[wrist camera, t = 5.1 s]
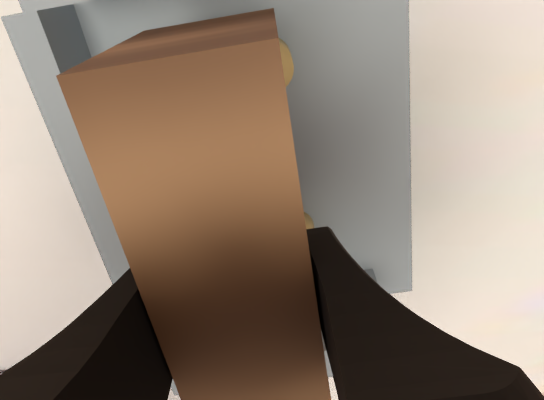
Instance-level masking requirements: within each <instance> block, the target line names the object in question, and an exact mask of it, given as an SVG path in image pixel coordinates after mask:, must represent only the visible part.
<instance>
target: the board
mask: <svg viewBox="0 0 544 400" xmlns="http://www.w3.org/2000/svg"><path fill="white" fill-rule="evenodd" d="M56 77H57V80H58V82H59V85H60V87H61V90H62V93H63V95H64V98H65V100H66V103H67V106H68V108H69V111H70V113H71V116H72V119H73V121H74V124H75V126H76V129H77V131H78V134H79V137H80V139H81V142H82V144H83V147H84V150H85V152H86V155H87V157H88V160H89V163H90V165H91V168H92V170H93V173H94V176H95V178H96V181H97V183H98V186H99V188H100V191H101V194H102V196H103V199H104V201H105V204H106V207H107V209H108V212H109V214H110V217H111V220H112V222H113V225H114V227H115V230H116V233H117V235H118V238H119V240H120V243H121V245H122V248H123V251H124V253H125V256H126V258H127V261H128V264H129V266H130V269H131V271H132V274H133V277H134V279H135V282H136V284H137V287H138V289H139V292H140V295H141V297H142V300H143V302H144V305H145V308H146V310H147V313H148V315H149V318H150V321H151V323H152V326H153V328H154V331H155V334H156V336H157V339H158V341H159V344H160V346H161V349H162V352H163V354H164V357H165V359H166V362H167V365H168V367H169V370H170V372H171V375H172V378H173V380H174V383H175V385H176V388H177V391H178V393H179V396H180V398H181V400H331V396H330V389H329V382H328V375H327V368H326V362H325V355H324V348H323V341H322V334H321V327H320V320H319V313H318V306H317V300H316V293H315V286H314V279H313V272H312V265H311V258H310V251H309V244H308V238H307V231H306V224H305V217H304V210H303V203H302V196H301V189H300V183H299V176H298V169H297V162H296V155H295V148H294V141H293V134H292V127H291V121H290V114H289V107H288V100H287V93H286V86H285V79H284V72H283V65H282V59H281V52H280V45H279V38H278V32H277V25H276V19H275V13H274V8H270V9H264V10H259V11H253V12H247V13H242V14H236V15H230V16H225V17H219V18H213V19H207V20H202V21H196V22H190V23H185V24H179V25H173V26H168V27H162V28H156V29H150V30H145V31H142V32H140V33H139V34H137V35H135V36H133V37H131V38H129V39H127V40H125V41H123V42H121V43H119V44H117V45H115V46H113V47H111V48H109V49H107V50H105V51H103V52H102V53H100V54H98V55H96V56H94V57H92V58H90V59H88V60H86V61H84V62H82V63H80V64H78V65H76V66H74V67H72V68H70V69H68V70H66V71H65V72H63V73H61V74H59V75H57V76H56Z"/></svg>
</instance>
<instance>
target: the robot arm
mask: <svg viewBox="0 0 544 400" xmlns="http://www.w3.org/2000/svg"><path fill="white" fill-rule="evenodd" d="M306 231H307V238H308V244H309V251H310V258H311V265H312V272H313V279H314V286H315V293H316V300H317V306H318V313H319V320H320V327H321V331H322V335H323V339H324V343H325V347H326V351H327V355H328V359H329V363H330V366H331V370H332V374H333V378H334V382H335V386H336V390H337V394H338V399H339V400H544V396H543V395H542V394H541V392H540V391H539V390H538V389H537V387H536V386H535V385H534V384H533V383H532V381H531V380H530V379H529V378H528V377H527V375H526V374H525V373H524V372H523V371H522V369H521V368H520V367H518V366H516V365H513V364H511V363H509V362H506V361H504V360H502V359H499V358H497V357H495V356H493V355H490V354H488V353H486V352H483V351H481V350H479V349H476V348H474V347H472V346H470V345H468V344H466V343H464V342H463V341H461V340H459V339H457V338H455V337H453V336H451V335H449V334H447V333H446V332H444V331H442V330H440V329H439V328H437V327H436V326H434V325H432V324H431V323H429V322H427V321H426V320H424V319H423V318H421V317H419V316H418V315H416V314H415V313H414V312H412V311H411V310H409V309H408V308H407V307H405V306H404V305H403V304H401V303H400V302H399V301H398V300H396V299H395V298H394V297H392V296H391V295H390V294H389V293H388V292H386V291H385V290H384V289H383V288H382V287H381V286H380V285H379V284H378V283H377V282H375V281H374V280H373V279H372V278H371V277H370V276H369V275H368V274H367V273H366V272H365V271H364V270H363V269H362V268H361V267H360V265H359V264H358V263H357V262H356V261H355V260H354V259H353V258H352V257H351V255H350V254H349V253H348V252H347V251H346V249H345V248H344V247H343V245H342V244H341V243H340V241H339V240H338V239H337V237H336V236H335V234H334V232H333V231H332V229H331V228H329V227H328V226H326V227H319V228H312V229H306ZM172 379H173V378H172V375H171V372H170V370H169V367H168V365H167V362H166V359H165V357H164V354H163V352H162V349H161V346H160V344H159V341H158V339H157V336H156V334H155V331H154V328H153V326H152V323H151V321H150V318H149V315H148V313H147V310H146V308H145V305H144V302H143V300H142V297H141V295H140V292H139V289H138V287H137V284H136V282H135V279H134V277H133V274H132V271H131V269H130V268H129V269H128V270H127V271H126V272H125V273H124V274H123V275H122V276H121V277H120V278H119V279H118V280H117V281H116V282H115V283H114V284H113V285H112V286H111V287H110V288H109V289H108V290H107V291H106V292H105V293H104V294H103V295H102V296H101V297H100V298H98V299H97V300H96V301H95V302H94V303H93V304H92V305H91V306H90V307H88V308H87V309H86V310H85V311H84V312H83V313H82V314H81V315H80V316H78V317H77V318H76V319H75V320H74V321H73V322H72V323H71V324H69V325H68V326H67V327H66V328H65V329H63V330H62V331H61V332H60V333H58V334H57V335H56V336H55V337H53V338H52V339H51V340H49V341H48V342H47V343H45V344H44V345H43V346H41V347H40V348H39V349H37V350H36V351H35V352H33V353H32V354H30V355H29V356H27V357H26V358H24V359H23V360H21V361H20V362H18V363H17V364H15V365H14V366H12V367H11V368H10V369H8V370H7V371H5V372H4V373H0V400H167V399H168V395H169V391H170V387H171V383H172Z"/></svg>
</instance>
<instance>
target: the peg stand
mask: <svg viewBox="0 0 544 400" xmlns="http://www.w3.org/2000/svg"><path fill="white" fill-rule="evenodd" d="M18 1H19V3H20V6H21V8H22V11H23V13H19V14H13V15H8V16H3V17H1V19H2V21H3V24H4V26H5V28H6V31H7V33H8V35H9V38H10V40H11V43H12V45H13V47H14V50H15V52H16V55H17V57H18V59H19V62H20V64H21V67H22V69H23V71H24V74H25V76H26V78H27V81H28V83H29V86H30V88H31V90H32V93H33V95H34V98H35V100H36V102H37V105H38V107H39V109H40V112H41V114H42V117H43V119H44V121H45V124H46V126H47V129H48V131H49V133H50V136H51V138H52V140H53V143H54V145H55V148H56V150H57V152H58V155H59V157H60V160H61V162H62V164H63V167H64V169H65V172H66V174H67V176H68V179H69V181H70V183H71V186H72V188H73V191H74V193H75V195H76V198H77V200H78V203H79V205H80V207H81V210H82V212H83V214H84V217H85V219H86V222H87V224H88V226H89V229H90V231H91V234H92V236H93V238H94V241H95V243H96V246H97V248H98V250H99V253H100V255H101V257H102V260H103V262H104V265H105V267H106V269H107V272H108V274H109V277H110V279H111V281H112V284H114V283H115V282H116V281H117V280H118V279H119V278H120V277H121V276H122V275H123V274H124V273H125V272H126V271H127V270H128V269H129V268H130V266H129V264H128V261H127V258H126V256H125V253H124V251H123V248H122V245H121V243H120V240H119V238H118V235H117V233H116V230H115V227H114V225H113V222H112V220H111V217H110V214H109V212H108V209H107V207H106V204H105V201H104V199H103V196H102V194H101V191H100V188H99V186H98V183H97V181H96V178H95V176H94V173H93V170H92V168H91V165H90V163H89V160H88V157H87V155H86V152H85V150H84V147H83V144H82V142H81V139H80V137H79V134H78V131H77V129H76V126H75V124H74V121H73V119H72V116H71V113H70V111H69V108H68V106H67V103H66V100H65V98H64V95H63V93H62V90H61V87H60V85H59V82H58V80H57V77H56V76H57V75H59V74H61V73H63V72H65V71H66V70H68V69H70V68H72V67H74V66H76V65H78V64H80V63H82V62H84V61H86V60H88V59H90V58H92V57H94V56H96V55H98V54H100V53H102V52H103V51H105V50H107V49H109V48H111V47H113V46H115V45H117V44H119V43H121V42H123V41H125V40H127V39H129V38H131V37H133V36H135V35H137V34H139V33H140V32H142V31H145V30H150V29H156V28H162V27H168V26H173V25H179V24H185V23H190V22H196V21H202V20H207V19H213V18H219V17H225V16H230V15H236V14H242V13H247V12H253V11H259V10H264V9H270V8H274V13H275V19H276V25H277V32H278V38H279V45H280V52H281V59H282V65H283V72H284V79H285V86H286V93H287V100H288V107H289V114H290V121H291V127H292V134H293V141H294V148H295V155H296V162H297V169H298V176H299V183H300V189H301V196H302V203H303V210H304V217H305V224H306V229H312V228H319V227H326V226H328V227H329V228H331V229H332V231H333V232H334V234H335V236H336V237H337V239H338V240H339V241H340V243H341V244H342V245H343V247H344V248H345V249H346V251H347V252H348V253H349V254H350V255H351V257H352V258H353V259H354V260H355V261H356V262H357V263H358V264H359V265H360V267H361V268H362V269H363V270H364V271H365V272H366V273H367V274H368V275H369V276H370V277H371V278H372V279H373V280H374V281H375V282H377V283H378V284H379V285H380V286H381V287H382V288H383V289H384V290H385V291H386V292H388V293H389V294H391V293H399V292H407V291H412V242H411V160H410V78H409V0H18ZM321 334H322V331H321ZM322 341H323V348H324V355H325V362H326V368H327V375H328V377H333V374H332V370H331V366H330V363H329V359H328V355H327V351H326V347H325V343H324V339H323V335H322ZM171 388H172V391H173V393H174V395H179V393H178V391H177V388H176V385H175V383H174V380H173V379H172V383H171Z"/></svg>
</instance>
